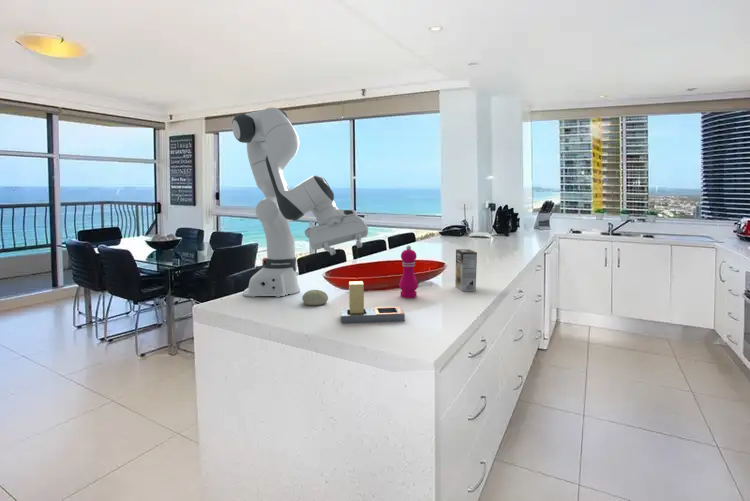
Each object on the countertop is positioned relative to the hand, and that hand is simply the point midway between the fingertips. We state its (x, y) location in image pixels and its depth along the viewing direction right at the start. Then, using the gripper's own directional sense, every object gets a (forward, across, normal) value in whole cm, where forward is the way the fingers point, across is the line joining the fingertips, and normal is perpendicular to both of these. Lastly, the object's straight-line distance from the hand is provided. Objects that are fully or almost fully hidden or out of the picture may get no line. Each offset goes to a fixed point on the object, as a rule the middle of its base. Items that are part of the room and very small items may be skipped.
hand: (347, 249), depth 142 cm
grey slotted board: (+20, +1, +13) cm, 24 cm away
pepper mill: (+6, +25, +31) cm, 40 cm away
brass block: (+18, -3, +13) cm, 23 cm away
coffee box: (+8, +52, +36) cm, 64 cm away
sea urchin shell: (-2, -10, +28) cm, 30 cm away
